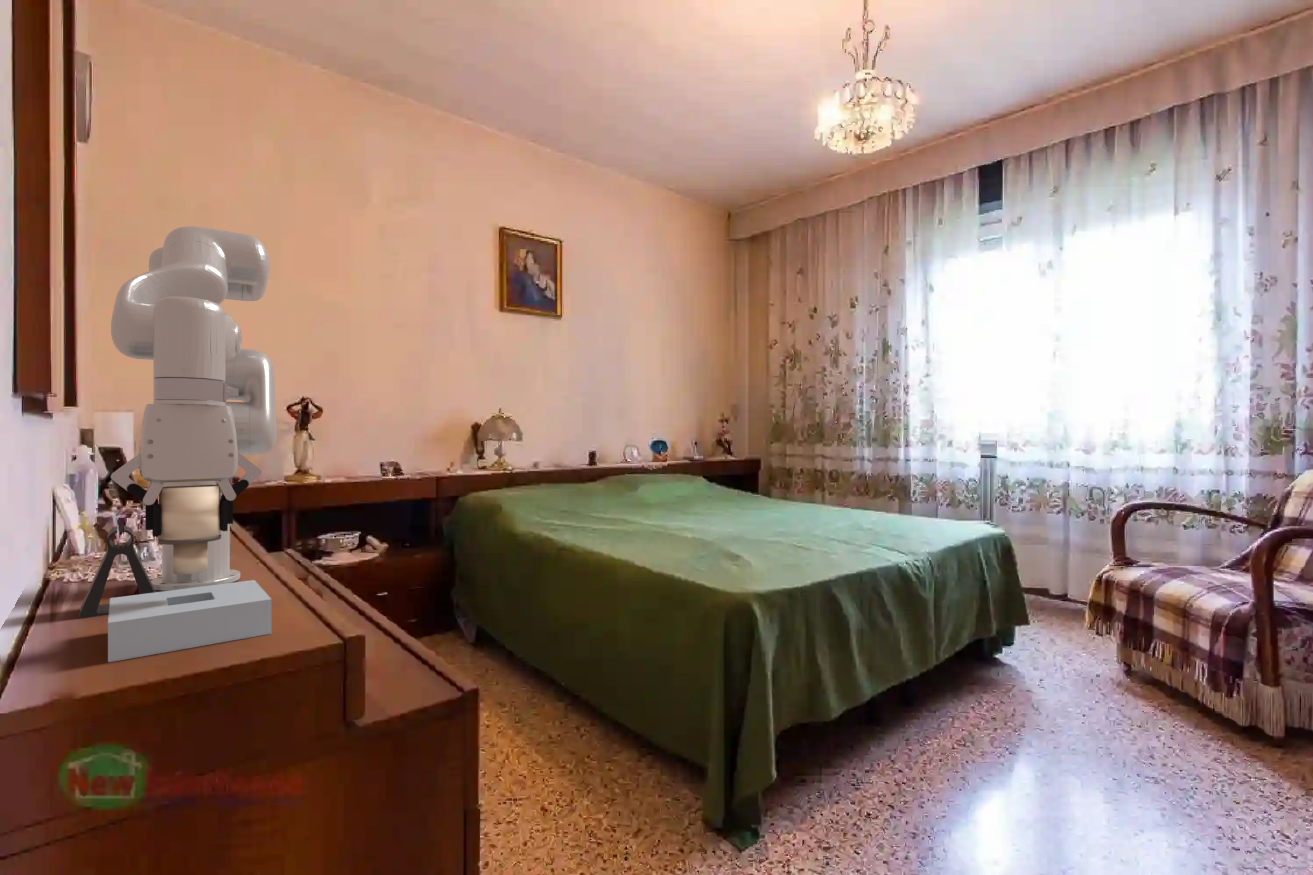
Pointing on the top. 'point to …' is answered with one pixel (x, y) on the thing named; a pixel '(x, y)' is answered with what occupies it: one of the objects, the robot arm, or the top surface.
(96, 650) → the top surface
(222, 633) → the gray rectangular block
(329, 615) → the top surface
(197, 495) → the beech peg
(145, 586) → the dark grey a-shaped piece
